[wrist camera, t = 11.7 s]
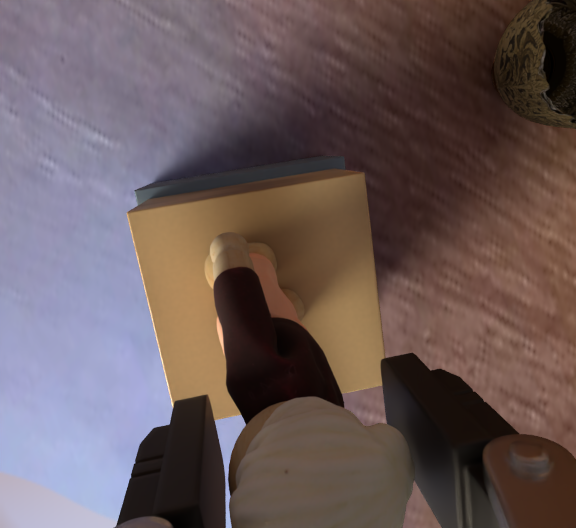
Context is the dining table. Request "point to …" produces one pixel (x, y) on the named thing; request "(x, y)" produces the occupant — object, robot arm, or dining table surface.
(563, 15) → the cup
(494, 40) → the dining table surface
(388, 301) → the dining table surface
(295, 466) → the grandmother figurine
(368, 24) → the dining table surface
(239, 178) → the base block
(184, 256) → the top block
